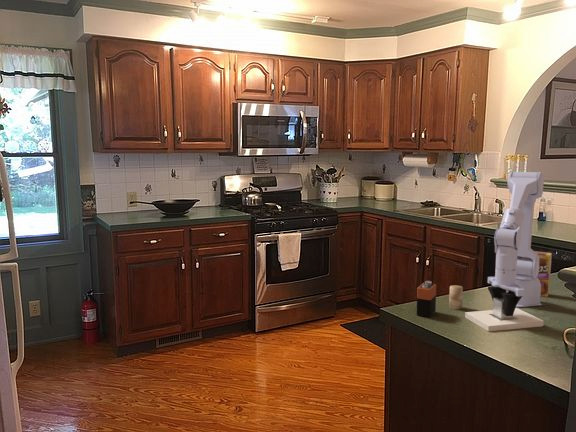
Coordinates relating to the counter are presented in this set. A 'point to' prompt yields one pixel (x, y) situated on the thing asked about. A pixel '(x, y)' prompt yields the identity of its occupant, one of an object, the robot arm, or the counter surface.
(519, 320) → the bore board
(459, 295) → the round dowel
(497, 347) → the counter surface
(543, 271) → the candy box
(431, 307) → the battery
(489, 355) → the counter surface
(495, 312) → the square peg
